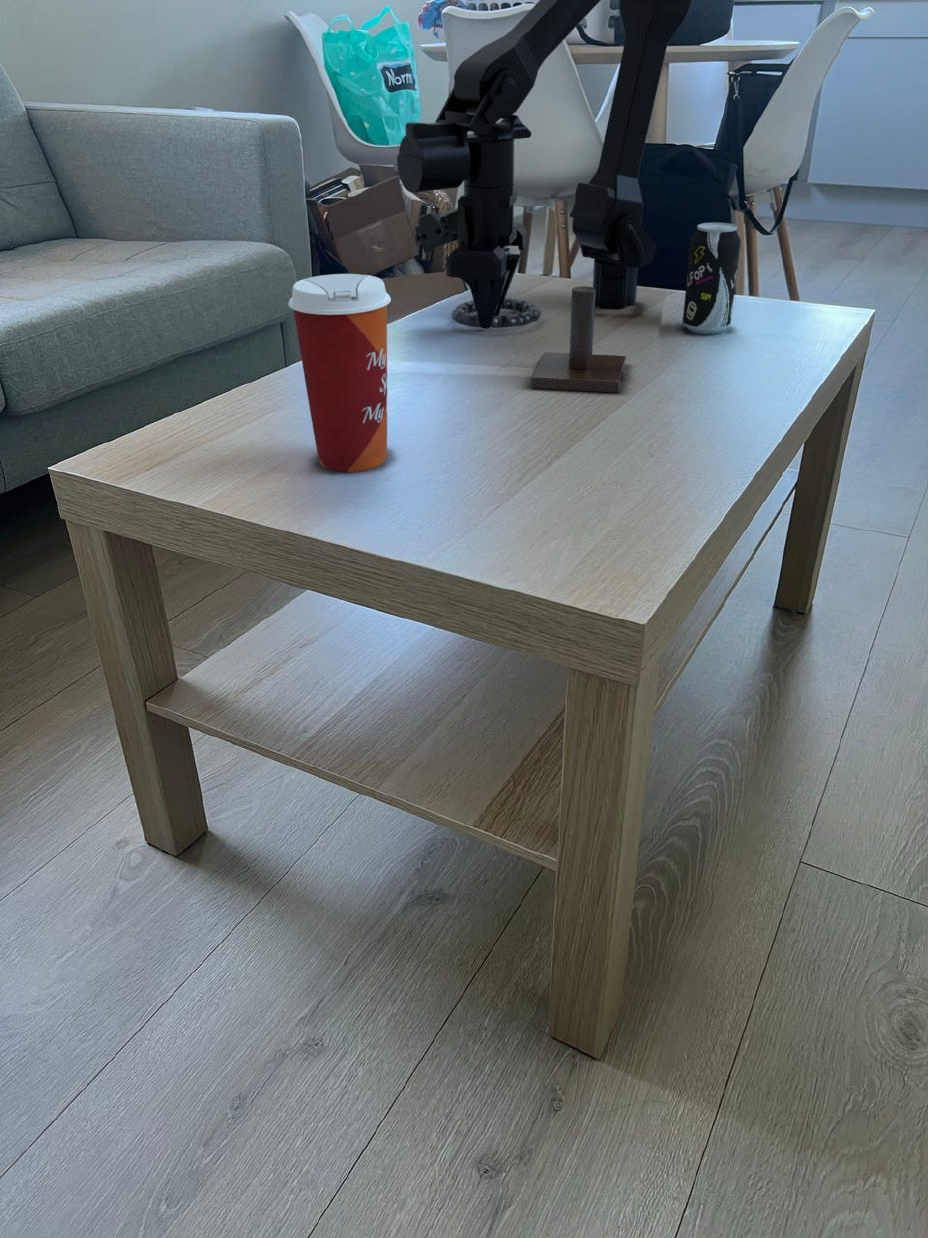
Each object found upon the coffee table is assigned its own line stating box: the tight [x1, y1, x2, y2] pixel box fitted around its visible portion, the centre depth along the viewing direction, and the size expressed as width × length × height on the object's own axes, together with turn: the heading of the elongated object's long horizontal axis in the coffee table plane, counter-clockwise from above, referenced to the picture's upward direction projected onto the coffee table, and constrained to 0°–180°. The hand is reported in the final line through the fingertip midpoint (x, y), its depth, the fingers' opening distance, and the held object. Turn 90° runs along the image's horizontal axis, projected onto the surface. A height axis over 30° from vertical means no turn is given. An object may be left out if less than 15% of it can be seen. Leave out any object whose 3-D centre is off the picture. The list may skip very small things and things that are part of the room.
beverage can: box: [682, 222, 742, 335], centre depth 115 cm, size 6×6×12 cm
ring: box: [451, 297, 542, 329], centre depth 121 cm, size 11×11×2 cm
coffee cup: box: [288, 273, 392, 473], centre depth 81 cm, size 8×8×15 cm
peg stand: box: [531, 285, 627, 394], centre depth 100 cm, size 9×9×9 cm
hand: (489, 322), depth 118 cm, fingers open, 5 cm apart
